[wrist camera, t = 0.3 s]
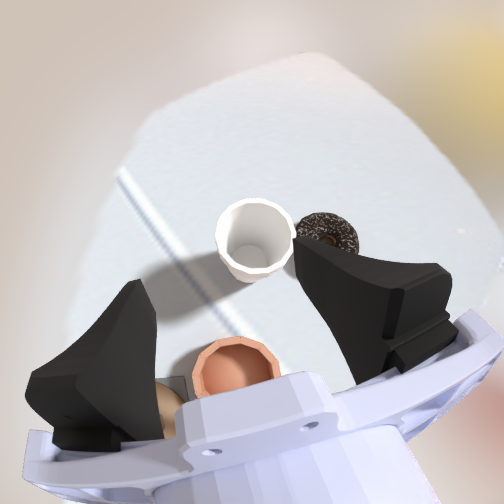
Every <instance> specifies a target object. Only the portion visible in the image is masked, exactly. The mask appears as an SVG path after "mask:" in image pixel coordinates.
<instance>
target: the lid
mask: <svg viewBox="0 0 504 504" xmlns="http://www.w3.org/2000/svg"><path fill="white" fill-rule="evenodd" d="M155 383H156V393H157V401H158V408H159V414H160V419H161V424H162V429H163V433H164V437H165V439H168V438H172V437H175V436H176V428H175V417H174V413H175V412H176V411H177V410H178V409H179V408H180V407H181V406H182V405H183V404H184V403H185V402H184V400H183V399H182V398H181V397H180V396H179V395H178V394H177V393H176V392H175V391H173V390H172V389H170V388H169V387H167V386H165V385H163V384H161V383H158V382H155Z"/></svg>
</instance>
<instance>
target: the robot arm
mask: <svg viewBox="0 0 504 504" xmlns="http://www.w3.org/2000/svg"><path fill="white" fill-rule="evenodd" d="M292 242H293V251H294V261H295V272H296V276H297V278H298V280H299V282H300V284H301V286H302V288H303V290H304V292H305V293H306V295H307V296H308V298H309V299H310V301H311V302H312V303H313V305H314V306H315V308H316V309H317V310H318V312H319V313H320V315H321V316H322V318H323V319H324V320H325V322H326V323H327V325H328V327H329V328H330V330H331V332H332V334H333V335H334V337H335V339H336V341H337V343H338V345H339V347H340V349H341V351H342V353H343V355H344V357H345V359H346V362H347V364H348V366H349V368H350V371H351V373H352V375H353V378H354V380H355V383H356V385H357V386H355V387H352V388H350V389H348V390H346V391H342V392H338V393H333V394H331V393H330V391H329V389H328V387H327V385H326V383H325V381H324V380H323V378H322V376H321V374H316V373H311V372H306V371H303V372H298V373H292V374H287V375H284V376H281V377H277V378H274V379H271V380H267V381H264V382H261V383H257V384H253V385H250V386H246V387H242V388H239V389H235V390H231V391H227V392H222V393H218V394H214V395H209V396H204V397H200V398H197V399H195V400H192V401H189V402H186V403H184V404H183V405H182V406H181V407H180V408H179V409H178V410H177V411H176V412H175V413H174V417H175V428H176V436H175V437H172V438H168V439H165V437H164V433H163V429H162V424H161V419H160V414H159V408H158V401H157V393H156V383H155V355H156V338H157V323H156V312H155V310H154V308H153V306H152V304H151V301H150V299H149V297H148V295H147V293H146V291H145V288H144V286H143V284H142V282H141V279H137V280H133V281H129V282H128V283H127V284H126V285H125V286H124V287H123V288H122V289H121V291H120V292H119V293H118V295H117V296H116V297H115V298H114V300H113V301H112V302H111V304H110V305H109V306H108V307H107V309H106V310H105V311H104V312H103V313H102V315H101V316H100V317H99V318H98V319H97V321H96V322H95V323H94V324H93V325H92V326H91V327H90V328H89V329H88V330H87V331H86V332H85V333H84V334H83V335H82V336H81V337H80V338H79V339H78V340H77V341H76V342H74V343H73V344H72V345H71V346H70V347H69V348H67V349H66V350H65V351H64V352H62V353H61V354H60V355H58V356H57V357H55V358H54V359H53V360H51V361H50V362H48V363H46V364H45V365H43V366H41V367H40V368H38V369H36V370H34V371H33V372H32V373H31V376H30V379H29V382H28V385H27V389H26V392H25V398H26V401H27V402H28V404H29V405H30V407H31V408H32V409H33V410H34V411H35V412H36V413H38V415H40V416H41V417H42V418H43V419H44V420H45V421H47V422H48V423H49V424H50V425H52V426H53V427H54V432H53V434H52V433H50V432H47V431H40V430H29V434H28V440H27V446H26V452H25V458H24V466H23V475H22V477H23V479H24V480H26V481H28V482H30V483H32V484H34V485H35V486H37V487H39V488H41V489H43V490H45V491H48V492H50V493H52V494H54V495H56V496H58V497H61V498H63V499H67V500H71V501H76V502H81V503H86V504H441V502H440V501H439V499H438V497H437V495H436V494H435V492H434V490H433V488H432V487H431V485H430V483H429V481H428V480H427V478H426V476H425V474H424V473H423V471H422V469H421V468H420V466H419V464H418V462H417V461H416V459H415V457H414V456H413V454H412V452H411V451H410V449H409V447H408V446H407V444H406V442H408V441H409V440H411V439H412V438H413V437H415V436H416V435H418V434H419V433H420V432H422V431H423V430H425V429H426V428H427V427H429V426H430V425H431V424H433V423H434V422H435V421H437V420H438V419H439V418H440V417H442V416H443V415H444V414H445V413H447V412H448V411H449V410H450V409H451V408H452V407H454V406H455V405H456V404H457V403H458V402H460V401H461V400H462V399H463V398H464V397H465V396H466V395H467V394H469V393H470V392H471V391H472V390H473V389H474V388H475V387H476V386H477V385H479V384H480V383H481V382H482V381H483V380H484V378H485V377H486V376H487V374H488V373H489V372H490V370H491V369H492V367H493V366H494V364H495V363H496V361H497V360H498V358H499V357H500V355H501V353H502V352H503V350H504V338H503V337H502V336H501V335H500V334H499V333H498V332H497V331H496V330H495V329H494V328H493V327H492V326H491V325H490V324H489V323H488V322H487V321H486V320H485V319H484V318H483V317H482V316H480V315H479V314H478V313H477V312H476V311H475V310H474V309H470V310H469V311H467V312H466V313H464V314H463V315H462V316H460V317H459V318H458V319H456V320H455V322H454V323H453V324H452V323H451V322H450V321H449V320H448V319H449V318H450V314H449V313H448V312H447V311H446V310H445V309H446V306H447V303H448V300H449V296H450V293H451V289H452V277H451V274H450V273H449V272H447V271H446V270H445V269H444V268H442V267H441V266H440V265H439V264H437V263H400V262H391V261H384V260H378V259H373V258H369V257H365V256H361V255H357V254H354V253H351V252H348V251H345V250H342V249H339V248H337V247H334V246H331V245H329V244H326V243H324V242H321V241H319V240H316V239H314V238H311V237H308V236H305V235H304V236H300V237H296V238H292Z"/></svg>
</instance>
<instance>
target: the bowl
mask: <svg viewBox="0 0 504 504" xmlns="http://www.w3.org/2000/svg"><path fill="white" fill-rule="evenodd" d="M192 374H193V375H192V379H193V384H194V389H195V394H196V396H197V398H200V397H204V396H209V395H214V394H218V393H222V392H227V391H231V390H235V389H239V388H242V387H246V386H250V385H253V384H257V383H261V382H264V381H267V380H271V379H274V378H277V377H281V373H280V367H279V362H278V361H277V359H276V358H275V356H274V355H273V354H272V353H271V352H270V351H269V350H268V349H267V347H266V346H265V345H264V344H262V343H260V342H257V341H254V340H251V339H248V338H246V337H243V336H236V337H230V338H224V339H218V340H216V341H215V342H214V343H213V344H211V345H210V346H209V347H208V348H206V349H205V350H204V351H202V352H201V353H200V354H199V356H198V359H197V362H196V364H195V367H194V370H193V372H192Z"/></svg>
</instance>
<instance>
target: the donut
mask: <svg viewBox="0 0 504 504" xmlns="http://www.w3.org/2000/svg"><path fill="white" fill-rule="evenodd" d="M295 230H296V237H300V236H304V235H305V236H308V237H311V238H314V239H316V240H319V238H320V237H321V238H322V237H324V236H328V237H330V238H332V239H333V240H334V242H335V247H337V248H339V249H342V250H345V251H348V252H351V253H354V254H357V255H358V253H359V241H358V236H357V233H356V231H355V229H354V228H353V227H352V226H351V225H350V223H348V222H347V221H346V220H345V219H344V218H342V217H340V216H337V215H336V214H332V213H323V212H322V213H313V214H311V215H308V216H306V217H304V218H302V219H301V221H300V223H299V224H298V225H297V227H296V228H295Z"/></svg>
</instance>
